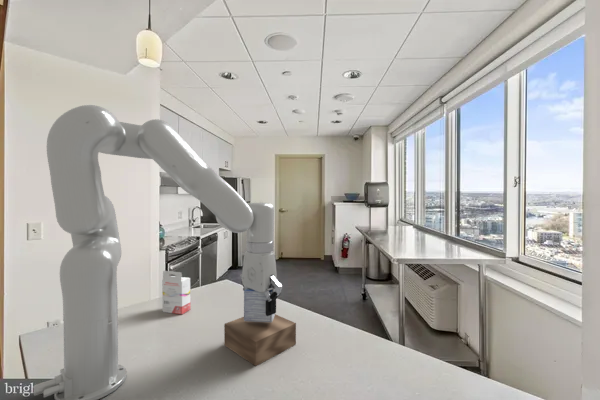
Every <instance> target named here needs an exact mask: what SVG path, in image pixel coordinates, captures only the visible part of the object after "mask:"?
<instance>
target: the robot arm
mask: <svg viewBox="0 0 600 400" xmlns="http://www.w3.org/2000/svg"><path fill="white" fill-rule="evenodd" d="M99 153H100V154H106V155H112V156H120V157H129V158H137V159H148V160H152V161H154V162H155V163H156V164H157V165H158V166H159V167H160V168H161V169H162V171H164V172H165V173H166V174H167V176H169V177H170V178H171V179H172V180H173V181H174V182H175V183H176V184H177V185H178V186H179V187H180V189H182V190H184V191H185V193H187V194H189V195H190V196H192V197H194V198H195V199H196V200H198V201H199V202H200V203H201V204H202V205H204V206H205V207H206V208H207V209H208V211H210V212H211V213H212V214H213V215H214V216H215V219H216V222H217V224H218V225H219V226H220V227H222V228H223V229H225V230H228V231H229V232H231V233H234V234H235V233H236V234H241V233H245V232H246V233H245V234H246V235H245V236H246V239H245V240H246V245H245V246H246V251H245V250H244V251H245V252H244V254H243V255H244V257H243V262H242V271H241V273H240V274H239V277H240V279H241V281H240V282H241V286H242V287H243V288H242V291H243V292H244V290H245V289H246V288H249V289H252V290H254V291H257V292H260V293H263V292H264V293H265V295H266V297H267V301H266V316H270V315H272V314H276V313H277V300H278V298H279V297H280V296H281V293H282V290H283V285H282V283H281V282H279V280H278V278H277V263H276V255H275V253H274V251H275V249H274V247H275V246H274V245H275V240H274V239H275V207H274V205H273V204H272V203H270V202H251V203H247V201H245V200H244V198H242V196H241V195H240V194H239V193H238V192H237V191H236V190H235V188H233V186H231V185H230V184H229V183H228V182H227V181H226V180H225V179H223V178H222V177H221V176H220V175H219V174H218V173H217V172H216V171H215V169H213V168H212V167H210V165H208V164H207V163H206V161H204V159H203V157H201V156H200V155H199V154H198V153H197V152H196V151H195V150H194V149H193V147H191V146H190V144H189V143H188V142H187V141H186V139H184V138H183V137H182V135H180V134H179V133H178V132H177V130H176V129H175V128H174V127H173V126H172V125H171V124H169V123H168V122H167V121H164V120H162V119H159V118H155V119H150V120H147V121H146V122H144V123H143V124H136V123H135V124H134V123H129V122H128V123H127V122H123V121H119V120H118V118H117V117H116V116H115V115H114V113H113V112H111V111H109V110H108V109H106V108H104V107H102V106H99V105H93V104H86V105H85V104H84V105H79V106H76V107H73V108H71V109H69V110H67V111H66V112H64V113H62V114H61V115H60V116H59V117H58V118H57V119H56V120H55V121H54V123H53V124H52V126H51V127H50V129H49V132H48V135H47V138H46V157H47V162H48V163H47V164H48V169H49V176H50V183H51V184H50V185H51V190H52V197H53V201H54V202H53V203H54V209H55V218H56V222H57V223H58V225H59V227H60V228H61V229H62V230H63V231H64V232H66V233H67V234H70V236H71V242H72V247H71V248H70V249H69V250H68V251H67V252H66V254H65V255H64V257H62V258H63V259H62V260H61V263H60V266H59V283H60V288H61V295H62V297H61V298H62V315H63V316H62V321H63V368H61V369H59V373H60V374H59V375H56V376H54V378H52V379H50V380H47V381H43V382H40V383H37V384H34V385H33V396H34V397H36V396H38V395H41V394H43V398H47V397H50V396H52V395H54V396H53V397H54V400H99V399H103V398H104V397H106V396H108V395H110V394H112V393H113V392H114V391H116V390H117V389H118V388H119V387H120V386H122V384H123V383H124V382H125V381H126V377H127V370H126V368H125V366H123V365H121V364H119V308H118V307H119V306H118V304H119V302H118V301H119V300H118V284H117V283H118V281H117V280H118V278H117V277H118V276H117V275H118V274H117V271H118V266H119V263H120V261H121V258H122V245H121V239H120V233H119V232H120V231H119V227H118V221H117V213H116V209H115V206H114V204H113V202H112V201H111V199H110V198H109V197H108V196H107V195H105V192H104V186H103V180H102V172H101V167H100V163H99ZM269 291H272V294H271V295H270V293H269Z"/></svg>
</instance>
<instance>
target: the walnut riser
mask: <svg viewBox="0 0 600 400" xmlns="http://www.w3.org/2000/svg"><path fill="white" fill-rule="evenodd" d="M223 326H224V327H223V328H224V330H223V331H224V333H223V334H224V339H223V340H224V347H227V348H228V349H229V350H231V351H233V352H234V353H235V354H237V355H239V356H240V357H241V358H243V359H244V360H246V361H247V362H249V363H250V364H252V365H253V366H255V367H257V366H259V365H261V364H262V363H264V362H266V361H268V360H270V359H272V358H274V357H275V356H277V355H279V354H281V353H283V352H284V351H287V350H288V349H290V348H292V347H294V346H295V345H297V323H296V322H294V321H292V320H289V319H288V318H285V317H283V316H280V315H278V314H276V313H275V316H274V319H273V321H272V322H252V321H244V316H241V317H239V318H237V319H233V320H231V321H229V322H226V323H224V325H223Z"/></svg>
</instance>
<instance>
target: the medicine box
mask: <svg viewBox="0 0 600 400" xmlns="http://www.w3.org/2000/svg"><path fill="white" fill-rule="evenodd" d="M269 293H270V295H271V294H272V291H269ZM266 301H267V297H266V295H265V293H264V292H263V293H260V292H257V291H254V290H252V289H249V288H246V289H245V290H244V291H243V317H244V321H252V322H272V321H273V319H274V316H275V314H276V313H275V314H272V315H270V316H266Z"/></svg>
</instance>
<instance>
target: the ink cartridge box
mask: <svg viewBox="0 0 600 400" xmlns="http://www.w3.org/2000/svg"><path fill="white" fill-rule="evenodd" d="M182 273H183V272H181V271H171V270H163V271H162V282H161V283H162V292H161V293H162V313H167V314H168V313H169V314H176V315H183V314H185V313H187V312H189V311H190V310H191V309H192V308H191V277H188V276H187V277H185V276H184V277H183V274H182Z"/></svg>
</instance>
